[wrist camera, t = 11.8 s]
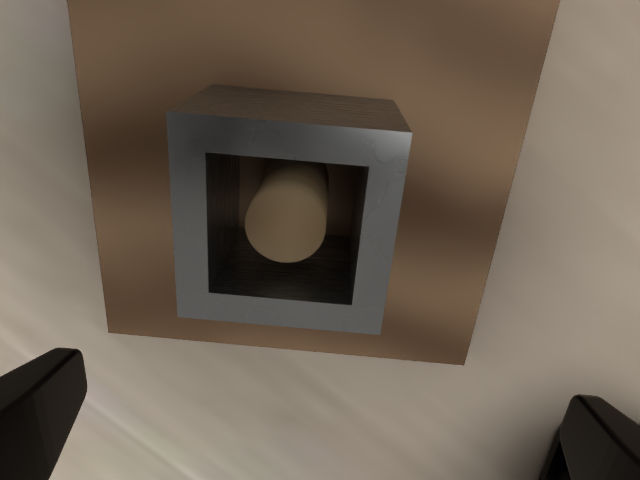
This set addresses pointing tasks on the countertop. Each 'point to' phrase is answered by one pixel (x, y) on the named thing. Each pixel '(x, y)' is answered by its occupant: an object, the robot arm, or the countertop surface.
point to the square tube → (231, 240)
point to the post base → (317, 56)
